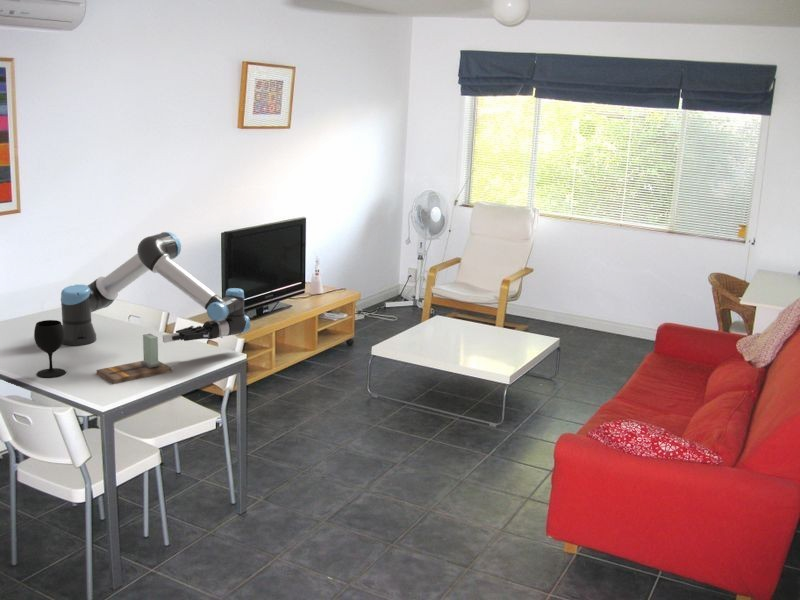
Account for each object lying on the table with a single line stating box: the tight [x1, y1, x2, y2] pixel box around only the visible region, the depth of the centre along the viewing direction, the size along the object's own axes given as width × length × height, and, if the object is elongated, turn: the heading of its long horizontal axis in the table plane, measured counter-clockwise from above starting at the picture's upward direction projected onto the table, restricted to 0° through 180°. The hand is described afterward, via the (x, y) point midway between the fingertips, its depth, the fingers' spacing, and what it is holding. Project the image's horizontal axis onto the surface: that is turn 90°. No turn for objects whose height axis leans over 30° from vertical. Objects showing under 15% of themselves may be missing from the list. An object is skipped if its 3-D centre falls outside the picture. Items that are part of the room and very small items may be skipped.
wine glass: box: [33, 319, 67, 379], centre depth 315 cm, size 10×10×20 cm
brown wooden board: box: [96, 360, 173, 385], centre depth 323 cm, size 24×14×2 cm, turn 134°
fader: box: [140, 333, 161, 368], centre depth 326 cm, size 5×7×12 cm
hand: (163, 339), depth 329 cm, fingers closed
